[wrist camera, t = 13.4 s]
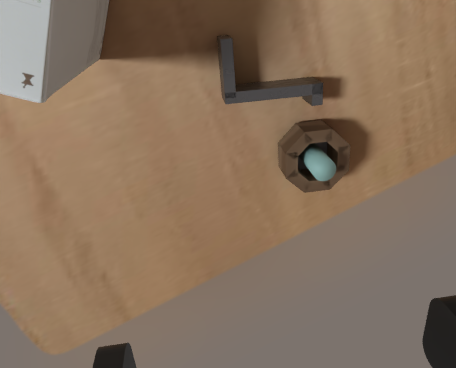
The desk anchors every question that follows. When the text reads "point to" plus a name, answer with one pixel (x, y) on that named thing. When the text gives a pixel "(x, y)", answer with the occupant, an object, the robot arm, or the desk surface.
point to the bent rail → (262, 90)
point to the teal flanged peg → (317, 161)
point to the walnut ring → (299, 141)
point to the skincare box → (47, 44)
